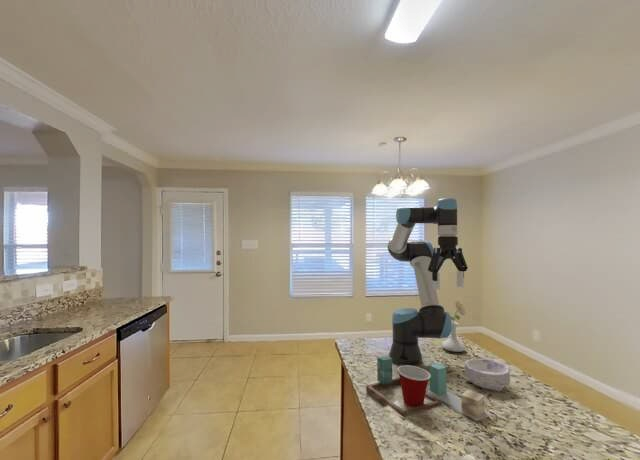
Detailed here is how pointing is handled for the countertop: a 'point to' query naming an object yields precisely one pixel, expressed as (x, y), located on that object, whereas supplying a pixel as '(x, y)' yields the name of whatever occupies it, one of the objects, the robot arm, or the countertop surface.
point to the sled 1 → (386, 381)
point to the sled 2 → (440, 390)
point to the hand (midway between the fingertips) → (448, 288)
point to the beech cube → (473, 403)
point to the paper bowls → (487, 373)
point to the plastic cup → (413, 384)
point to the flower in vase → (453, 342)
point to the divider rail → (459, 412)
